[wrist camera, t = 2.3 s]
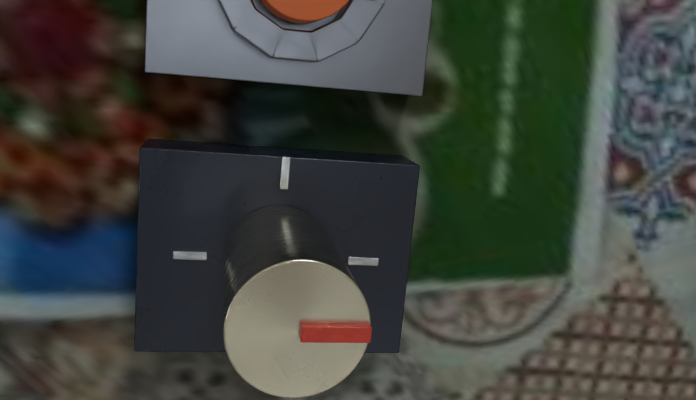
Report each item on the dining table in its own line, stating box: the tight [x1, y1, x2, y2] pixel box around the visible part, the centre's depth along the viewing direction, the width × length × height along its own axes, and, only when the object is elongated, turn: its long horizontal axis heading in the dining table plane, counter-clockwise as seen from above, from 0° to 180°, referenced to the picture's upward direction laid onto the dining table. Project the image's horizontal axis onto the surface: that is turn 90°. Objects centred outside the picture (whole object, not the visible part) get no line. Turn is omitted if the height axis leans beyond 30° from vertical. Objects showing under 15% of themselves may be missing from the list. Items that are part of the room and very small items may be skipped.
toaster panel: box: [134, 139, 420, 353], centre depth 30 cm, size 12×9×3 cm
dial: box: [223, 205, 372, 398], centre depth 25 cm, size 5×5×8 cm
